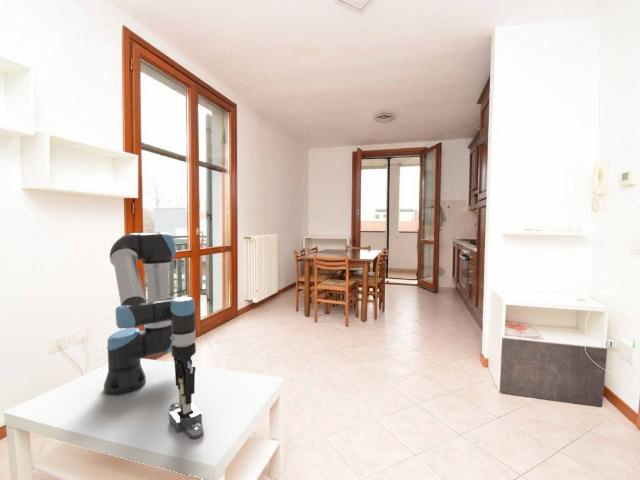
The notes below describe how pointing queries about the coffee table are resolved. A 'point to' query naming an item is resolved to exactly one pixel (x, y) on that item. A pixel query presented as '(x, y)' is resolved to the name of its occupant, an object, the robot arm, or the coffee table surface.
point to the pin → (182, 397)
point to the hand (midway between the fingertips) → (185, 409)
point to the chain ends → (186, 421)
